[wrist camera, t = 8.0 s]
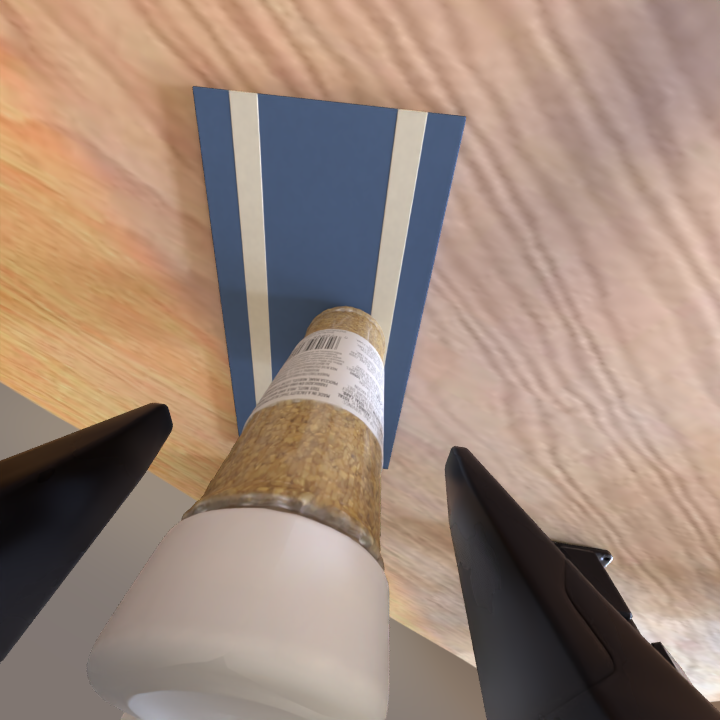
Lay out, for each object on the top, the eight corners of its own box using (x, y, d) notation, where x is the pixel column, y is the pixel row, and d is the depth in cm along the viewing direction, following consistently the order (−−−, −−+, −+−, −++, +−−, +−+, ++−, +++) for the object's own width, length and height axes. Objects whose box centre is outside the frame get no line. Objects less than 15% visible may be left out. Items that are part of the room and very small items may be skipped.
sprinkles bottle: (314, 377, 17) (155, 747, 5) (299, 305, 15) (-16, 652, 3) (389, 374, 17) (396, 778, 5) (385, 299, 15) (379, 688, 3)
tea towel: (387, 465, 21) (387, 469, 20) (242, 443, 21) (240, 447, 21) (464, 119, 11) (466, 116, 11) (197, 89, 12) (191, 85, 11)
